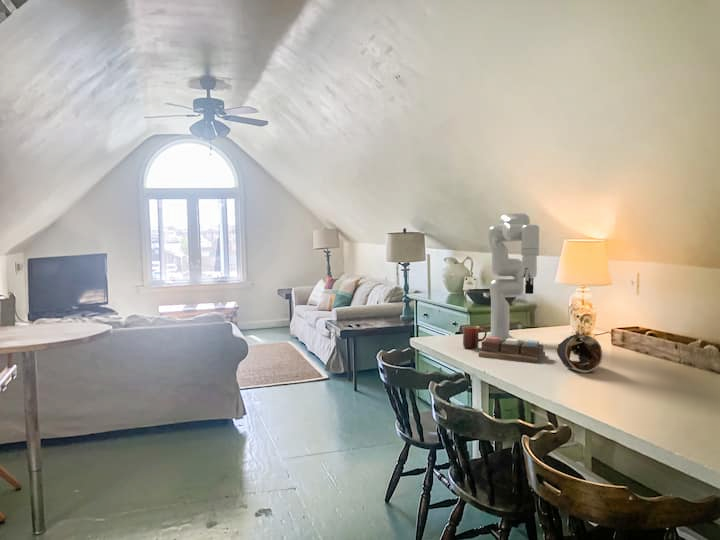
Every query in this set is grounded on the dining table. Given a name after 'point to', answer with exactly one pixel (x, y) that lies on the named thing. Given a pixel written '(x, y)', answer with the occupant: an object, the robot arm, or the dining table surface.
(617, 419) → the dining table surface
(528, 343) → the slate key
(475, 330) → the mug
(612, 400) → the dining table surface
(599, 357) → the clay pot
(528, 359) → the keypad
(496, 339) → the brick key
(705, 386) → the dining table surface
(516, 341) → the ivory key
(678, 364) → the dining table surface
